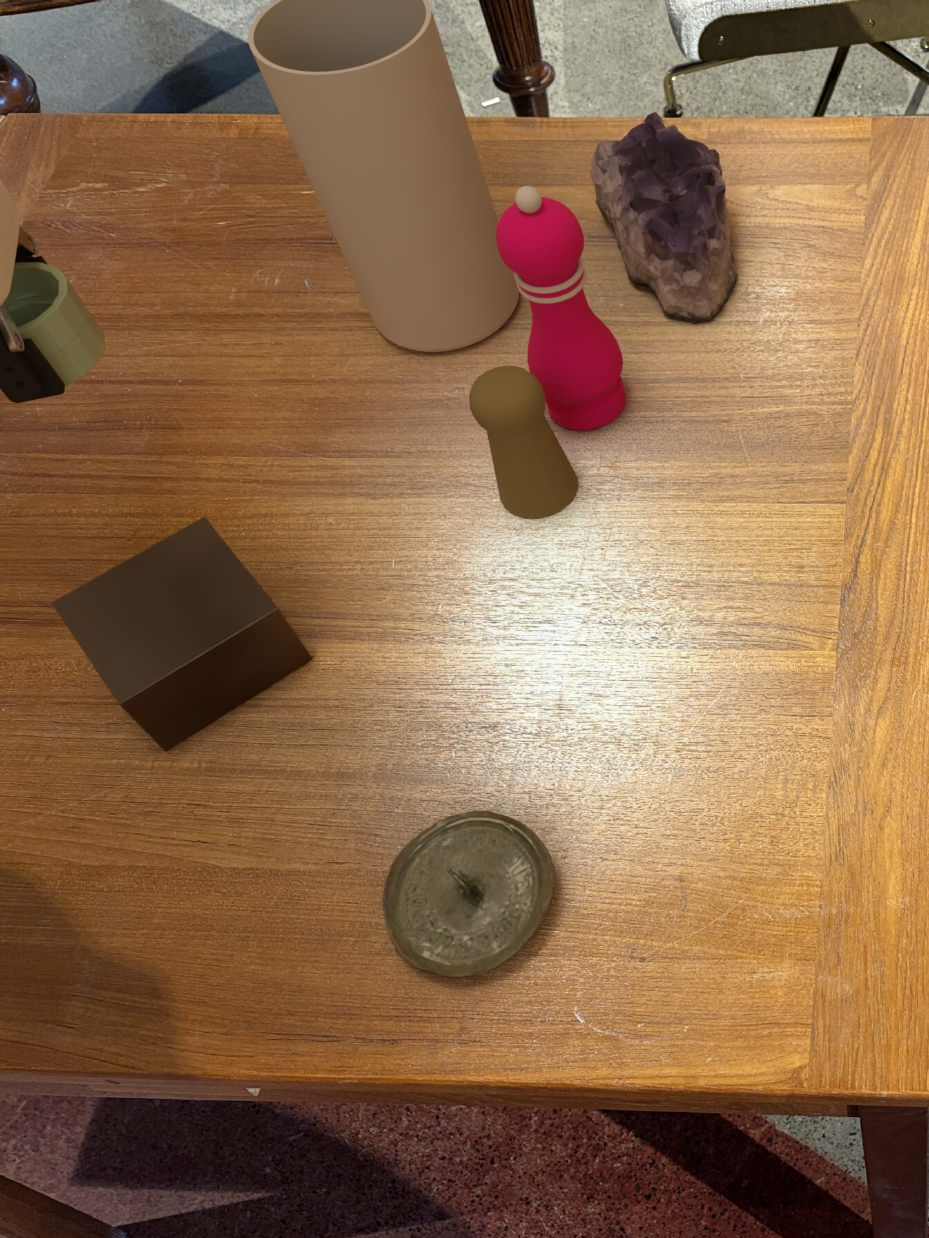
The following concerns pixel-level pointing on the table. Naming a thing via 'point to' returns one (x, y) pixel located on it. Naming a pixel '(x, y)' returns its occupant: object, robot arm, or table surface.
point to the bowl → (55, 319)
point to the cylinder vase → (390, 163)
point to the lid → (467, 894)
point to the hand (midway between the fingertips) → (44, 352)
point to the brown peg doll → (522, 443)
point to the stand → (182, 633)
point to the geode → (668, 217)
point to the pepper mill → (561, 313)
